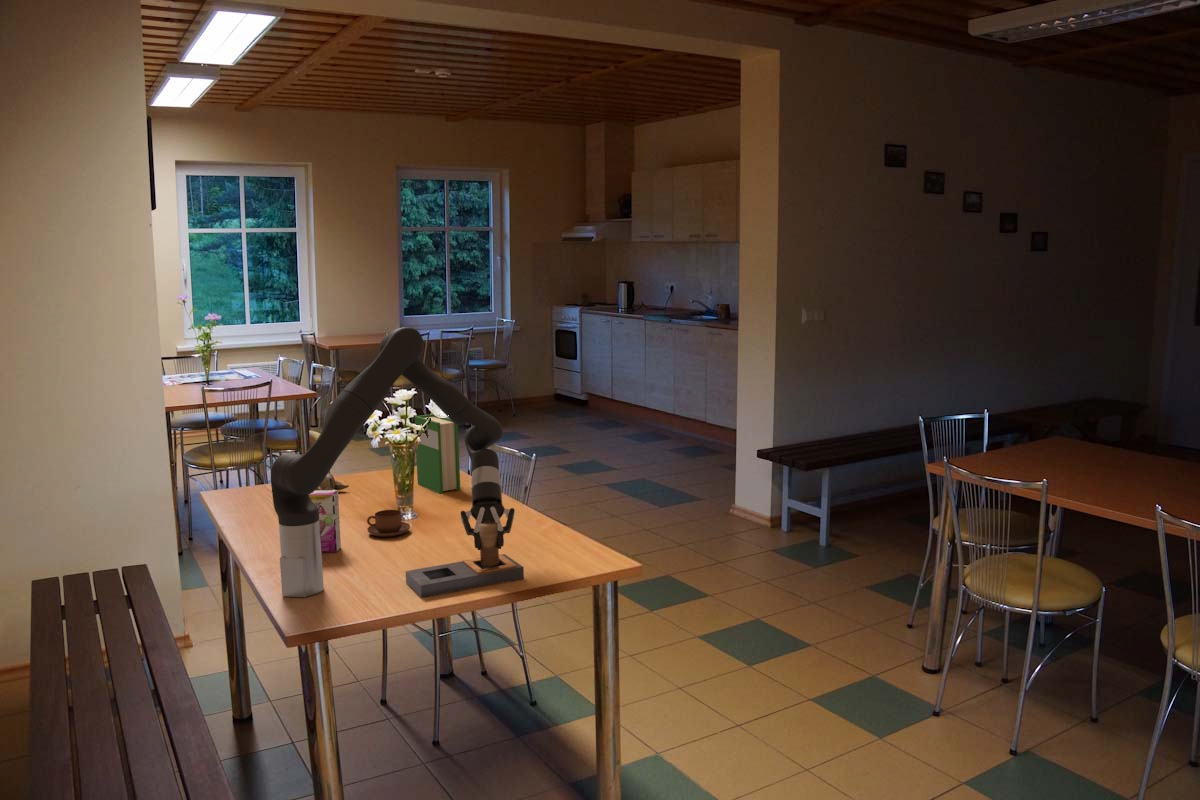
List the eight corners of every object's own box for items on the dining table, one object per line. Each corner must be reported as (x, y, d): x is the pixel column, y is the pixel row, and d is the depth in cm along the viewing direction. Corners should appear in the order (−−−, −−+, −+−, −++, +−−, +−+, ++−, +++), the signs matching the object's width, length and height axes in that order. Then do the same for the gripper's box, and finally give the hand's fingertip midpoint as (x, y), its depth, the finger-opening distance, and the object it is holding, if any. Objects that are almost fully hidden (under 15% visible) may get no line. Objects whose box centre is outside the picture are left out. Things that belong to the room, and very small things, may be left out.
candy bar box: (295, 554, 260) (291, 494, 258) (300, 548, 265) (296, 490, 263) (337, 553, 261) (333, 493, 258) (341, 547, 266) (338, 489, 263)
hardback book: (460, 490, 327) (457, 420, 324) (440, 494, 323) (437, 423, 319) (437, 481, 341) (434, 414, 338) (417, 484, 337) (414, 416, 334)
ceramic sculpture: (316, 462, 333) (350, 469, 327) (316, 487, 335) (350, 493, 329) (293, 469, 324) (328, 476, 318) (294, 494, 326) (328, 501, 319)
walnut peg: (495, 566, 237) (494, 527, 235) (478, 566, 238) (476, 526, 236) (501, 560, 241) (499, 522, 239) (484, 560, 242) (482, 521, 240)
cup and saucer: (368, 541, 271) (367, 520, 270) (366, 530, 283) (365, 509, 282) (411, 537, 274) (410, 516, 273) (408, 526, 286) (407, 506, 285)
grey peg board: (421, 597, 225) (420, 583, 225) (406, 582, 236) (405, 569, 235) (523, 578, 237) (523, 565, 237) (505, 565, 248) (504, 552, 247)
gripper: (457, 481, 243) (459, 542, 233) (514, 478, 245) (518, 539, 235) (458, 497, 249) (460, 557, 239) (514, 494, 251) (518, 553, 241)
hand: (489, 547), depth 237 cm, fingers closed on walnut peg, 4 cm apart
